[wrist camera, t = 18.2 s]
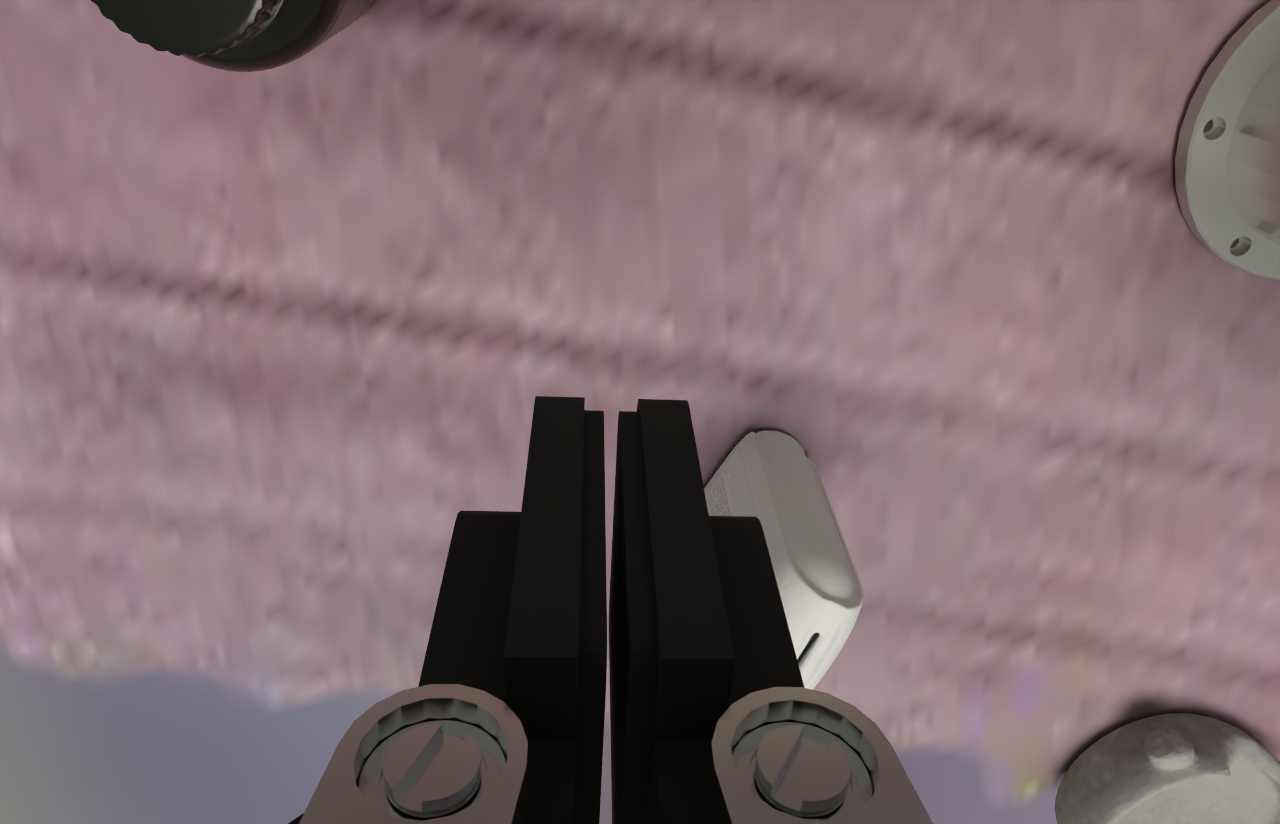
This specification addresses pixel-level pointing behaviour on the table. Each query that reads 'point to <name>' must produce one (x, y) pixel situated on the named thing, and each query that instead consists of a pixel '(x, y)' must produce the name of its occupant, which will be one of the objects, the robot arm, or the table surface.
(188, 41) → the supplement bottle
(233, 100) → the table surface
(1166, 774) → the dish
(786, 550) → the photo printer
